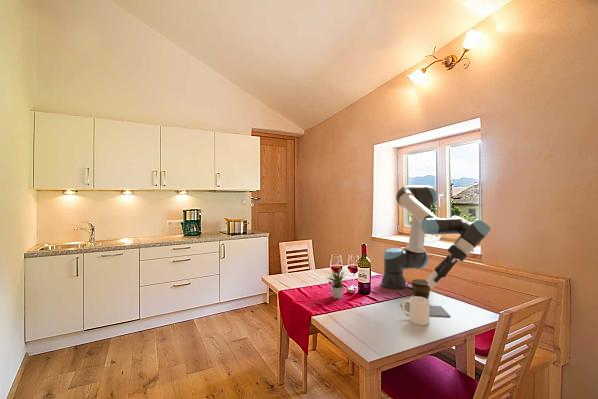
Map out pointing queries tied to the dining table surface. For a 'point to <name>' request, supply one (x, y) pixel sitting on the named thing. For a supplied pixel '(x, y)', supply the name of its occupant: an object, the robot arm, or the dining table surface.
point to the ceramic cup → (420, 288)
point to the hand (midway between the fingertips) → (428, 284)
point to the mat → (432, 311)
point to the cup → (418, 310)
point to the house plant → (337, 284)
